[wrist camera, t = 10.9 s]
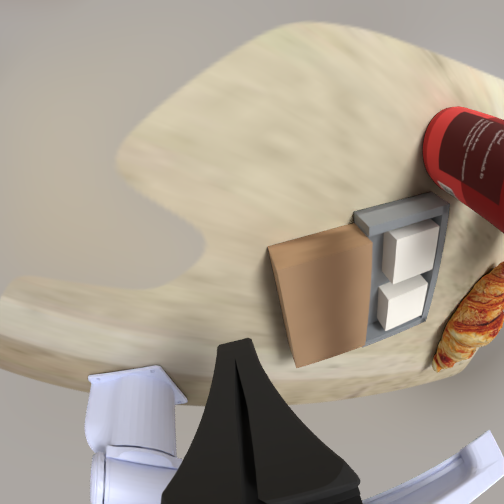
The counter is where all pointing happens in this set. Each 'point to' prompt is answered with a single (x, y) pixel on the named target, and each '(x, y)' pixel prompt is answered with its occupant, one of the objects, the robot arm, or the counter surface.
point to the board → (324, 291)
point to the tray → (374, 227)
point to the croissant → (473, 321)
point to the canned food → (468, 159)
